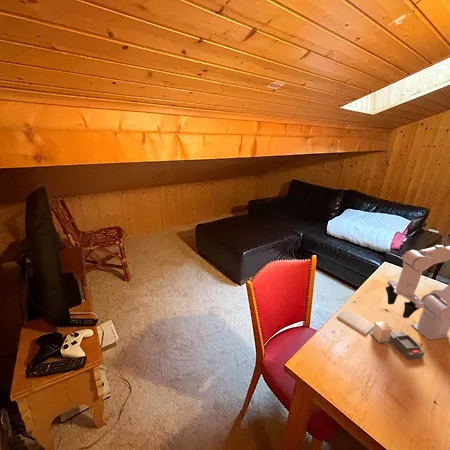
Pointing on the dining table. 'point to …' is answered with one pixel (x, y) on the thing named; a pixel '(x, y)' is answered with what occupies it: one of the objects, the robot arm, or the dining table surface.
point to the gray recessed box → (406, 345)
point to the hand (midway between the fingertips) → (397, 310)
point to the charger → (382, 331)
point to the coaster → (379, 342)
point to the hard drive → (356, 321)
